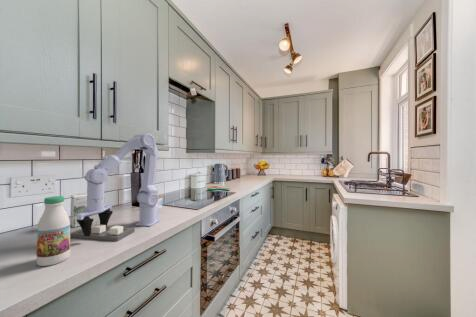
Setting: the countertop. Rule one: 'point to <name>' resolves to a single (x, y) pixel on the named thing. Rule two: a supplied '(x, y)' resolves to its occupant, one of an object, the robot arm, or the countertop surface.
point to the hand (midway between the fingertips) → (95, 232)
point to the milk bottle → (53, 233)
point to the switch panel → (103, 234)
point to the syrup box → (77, 207)
